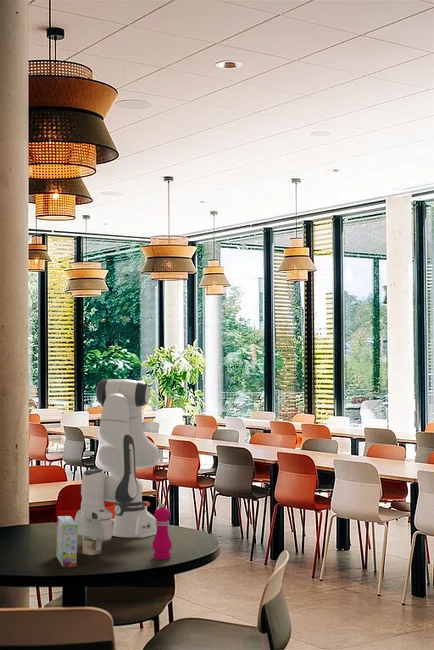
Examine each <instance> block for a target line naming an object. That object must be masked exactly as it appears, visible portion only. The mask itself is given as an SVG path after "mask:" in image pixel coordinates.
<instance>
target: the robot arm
mask: <svg viewBox="0 0 434 650" xmlns="http://www.w3.org/2000/svg"><path fill="white" fill-rule="evenodd" d="M150 396H151V391H150V387H149V384H148V383H147V382H146V381H143V380H134V379H127V378H124V379H121V378H119V379H118V378H116V379H115V378H111V379H110V378H105V379H104V378H103V379H100V381H99V382H97V386H96V389H95V397H96V400H97V402H98V403H99V404H101V406H102V409H101V416H100V424H99V434H100V436H101V439H102V440H103V441H105V442H106V443H104V444H103V445H101V447H100V449H99V450H98V460H99V462H100V464H101V466H103V467H105V469H106V470H107V471H108V472H109V473H110V475H109V474H106V473H104V470H103V469H102V468H89V469H86V470H85V471H83V474H82V478H81V485H80V489H81V491H80V495H81V502H80V509H78V511H77V512H76V513H75V514H76V515H75V517H74V521H75V522H76V523H77V524H78V536H81V538H82V541H83V540H87V539H96V545H95V546H94V550H96V551H99V550H100V545H101V546H102V543H103V541H109V540H111V539H112V536H114V537H118V538H139V539H140V538H146V537H148V538H149V537H151V536H156V532H157V525H156V521H157V520H156V519H155V517H154V514H151V513H150V512H149V511H148V510H146V508H147V507H149V506H150V502H149V501H144V500H143V499H142V498H143V484H142V482H141V480H140V479H139V478H137V474H136V469H148V468H152V467H156V465H157V464H158V463H159V461H160V458H161V454H160V453H161V452H160V449H159V447H158V446H157V445H156V444H155V443H154V442H152V441H151V440H150V439H149V438H148V436H147V435H146V433H145V431H144V428H143V408H142V407H144V406H146V405H147V404H148V402H149V399H150ZM105 501H106V502H110V503H114V520H113V522H114V523H113V522H112V519H113V513H112V512H111V511H110V510H109V509H107V507H105Z"/></svg>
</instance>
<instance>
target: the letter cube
mask: <svg viewBox="0 0 434 650" xmlns="http://www.w3.org/2000/svg"><path fill="white" fill-rule="evenodd" d="M95 545H96V539H95V538H88V539H87V540H83V539H82V554H84V555H88V556H94V555H95V556H96V555H101V554H102V544H101V545H100V550H99V551H96V550H94V546H95Z"/></svg>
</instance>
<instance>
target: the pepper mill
mask: <svg viewBox="0 0 434 650" xmlns="http://www.w3.org/2000/svg"><path fill="white" fill-rule="evenodd" d="M165 506H166V505H165V503H160V505H159V507H158V508H156V509H155V511H154V513H153V516H154V517H155V519H156V520H157V521H156V525H157V532H156V535H154V538H153V541H152V545H151V547H152V550H153V551H154V552H153V559H155V560H168V559H170V558H171V552H170V550H171V549H172V546H173V544H172V540H171V538H170V535H169V532H168V531H169V529H168V528H169V526H170V523H169V522H170V521H169V520H170V518H171V511H170V509H168V508H167V507H165Z"/></svg>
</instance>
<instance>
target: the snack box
mask: <svg viewBox="0 0 434 650" xmlns="http://www.w3.org/2000/svg"><path fill="white" fill-rule="evenodd" d="M78 536H79V535H78V524H77V523H76V522H75V519H73V517H72V516H71V515H65V516H64V515H61V516H60V515H59V516H57V519H56V550H55V551H56V553H55V554H56V555H55V556H56V558H57V560H58V561H59V563H60V565H61V567H62V568H76V567H77V561H78V560H77V559H78V557H77V555H78Z"/></svg>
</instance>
